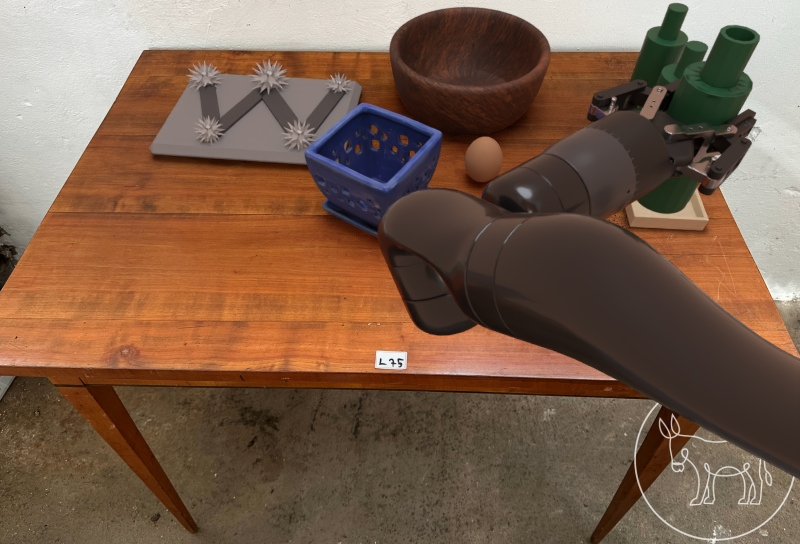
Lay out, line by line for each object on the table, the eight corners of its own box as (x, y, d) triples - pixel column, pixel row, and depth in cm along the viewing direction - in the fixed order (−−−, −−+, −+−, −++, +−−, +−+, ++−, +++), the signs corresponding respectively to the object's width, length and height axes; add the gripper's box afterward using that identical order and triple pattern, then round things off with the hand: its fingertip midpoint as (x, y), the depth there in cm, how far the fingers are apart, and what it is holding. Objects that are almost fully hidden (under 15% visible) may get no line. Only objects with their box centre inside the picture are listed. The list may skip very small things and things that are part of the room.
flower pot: (311, 219, 75) (297, 150, 66) (367, 166, 82) (362, 97, 73) (390, 259, 70) (387, 191, 61) (443, 199, 77) (447, 130, 68)
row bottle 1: (655, 113, 88) (702, 2, 74) (650, 133, 85) (698, 20, 71) (620, 105, 90) (660, -6, 76) (614, 124, 87) (654, 12, 72)
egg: (471, 161, 82) (475, 123, 77) (504, 172, 81) (511, 133, 75) (456, 183, 79) (460, 145, 74) (491, 195, 78) (497, 156, 72)
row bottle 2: (669, 153, 82) (723, 39, 68) (663, 176, 79) (719, 61, 65) (631, 143, 84) (676, 30, 69) (624, 165, 80) (670, 51, 66)
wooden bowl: (391, 62, 100) (390, 6, 92) (527, 60, 99) (537, 4, 91) (389, 149, 84) (387, 91, 76) (551, 147, 84) (566, 89, 76)
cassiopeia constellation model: (149, 160, 83) (131, 121, 78) (197, 81, 97) (184, 43, 91) (341, 173, 81) (337, 134, 75) (363, 90, 94) (360, 52, 89)
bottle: (690, 186, 59) (778, 25, 45) (683, 220, 56) (776, 58, 42) (637, 172, 61) (707, 12, 46) (628, 204, 57) (700, 43, 43)
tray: (702, 230, 73) (709, 220, 71) (629, 226, 73) (634, 216, 72) (659, 109, 90) (663, 98, 88) (600, 106, 90) (603, 96, 89)
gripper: (686, 186, 38) (815, 104, 44) (541, 93, 46) (669, 33, 52) (649, 255, 44) (767, 174, 50) (526, 162, 52) (642, 101, 58)
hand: (717, 102), depth 51 cm, fingers closed on bottle, 5 cm apart
